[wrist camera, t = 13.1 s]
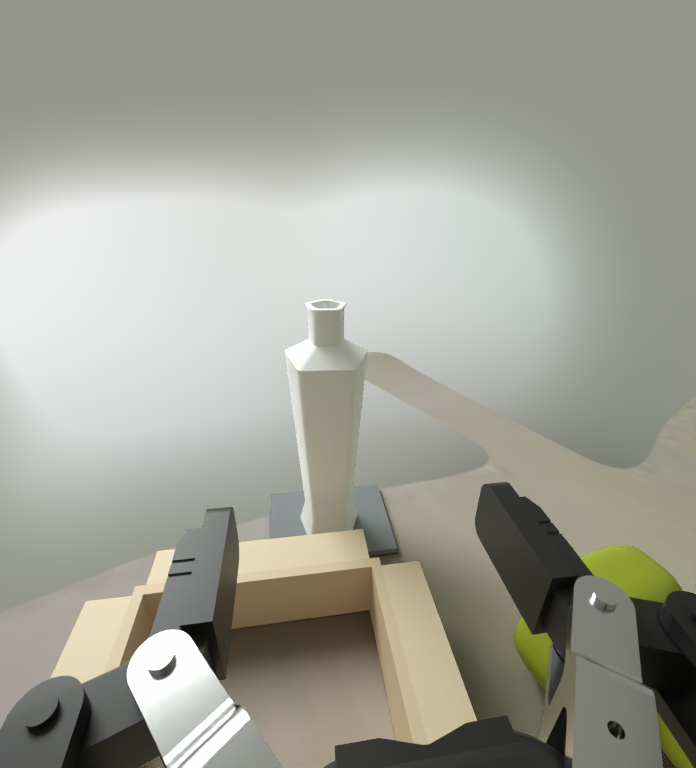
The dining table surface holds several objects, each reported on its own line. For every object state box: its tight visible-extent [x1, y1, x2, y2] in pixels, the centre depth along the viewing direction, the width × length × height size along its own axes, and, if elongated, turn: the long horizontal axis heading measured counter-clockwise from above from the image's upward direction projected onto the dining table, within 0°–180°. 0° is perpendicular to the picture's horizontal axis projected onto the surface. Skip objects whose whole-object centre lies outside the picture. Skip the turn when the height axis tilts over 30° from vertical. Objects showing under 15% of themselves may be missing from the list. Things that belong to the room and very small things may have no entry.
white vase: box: [285, 299, 368, 535], centre depth 24 cm, size 5×4×15 cm
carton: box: [50, 529, 477, 745], centre depth 16 cm, size 16×16×4 cm
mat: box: [269, 485, 398, 556], centre depth 27 cm, size 8×6×1 cm
